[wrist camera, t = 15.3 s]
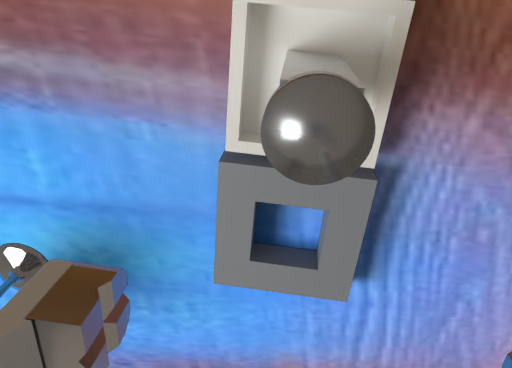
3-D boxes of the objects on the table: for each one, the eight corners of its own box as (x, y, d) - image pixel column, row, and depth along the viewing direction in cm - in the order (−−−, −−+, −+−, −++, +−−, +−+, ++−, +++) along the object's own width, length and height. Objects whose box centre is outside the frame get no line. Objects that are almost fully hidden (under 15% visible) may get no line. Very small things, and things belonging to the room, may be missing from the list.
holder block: (371, 165, 33) (377, 180, 30) (343, 281, 39) (346, 301, 36) (225, 148, 34) (218, 161, 31) (219, 264, 39) (213, 283, 37)
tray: (404, 1, 27) (415, 1, 24) (368, 154, 32) (374, 168, 30) (240, -15, 28) (233, -16, 25) (231, 138, 33) (225, 151, 30)
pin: (349, 47, 28) (387, 83, 16) (337, 115, 30) (362, 191, 18) (280, 40, 28) (265, 70, 16) (273, 108, 31) (256, 178, 18)
